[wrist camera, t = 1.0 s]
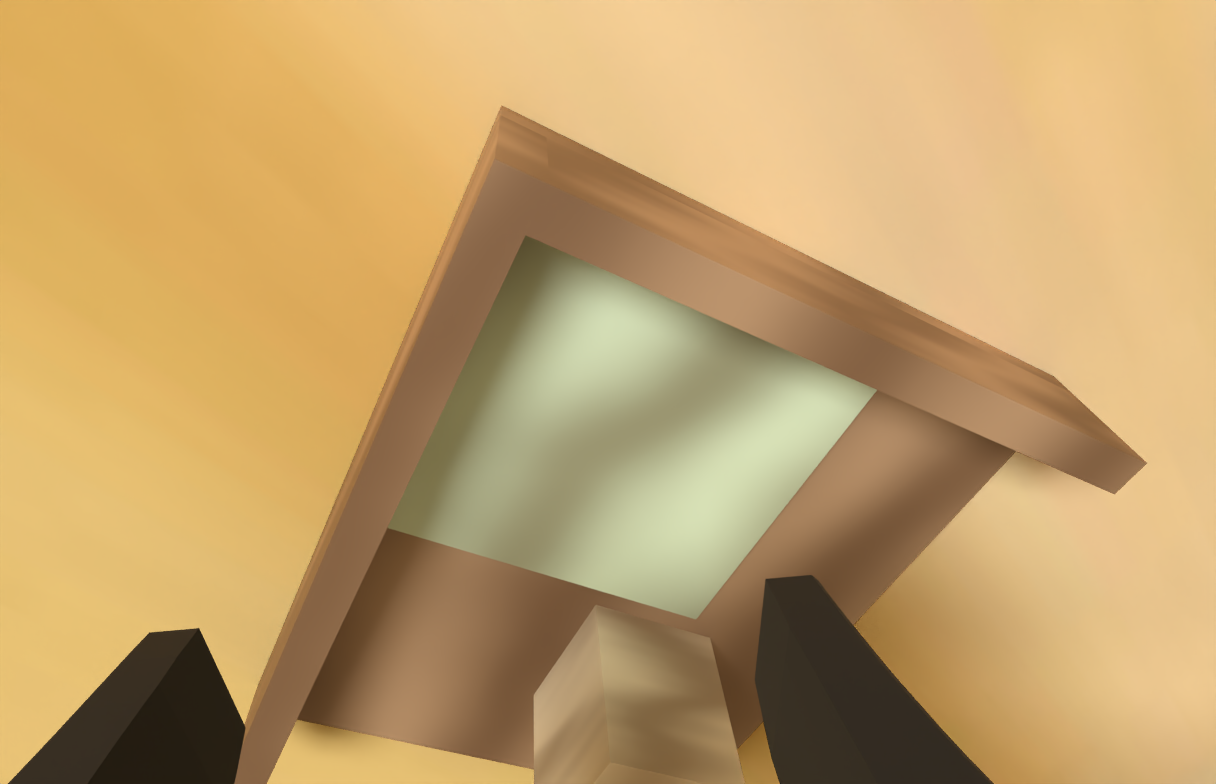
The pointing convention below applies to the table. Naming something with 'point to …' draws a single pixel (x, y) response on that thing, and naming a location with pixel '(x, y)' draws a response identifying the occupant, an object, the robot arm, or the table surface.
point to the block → (633, 708)
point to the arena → (630, 454)
